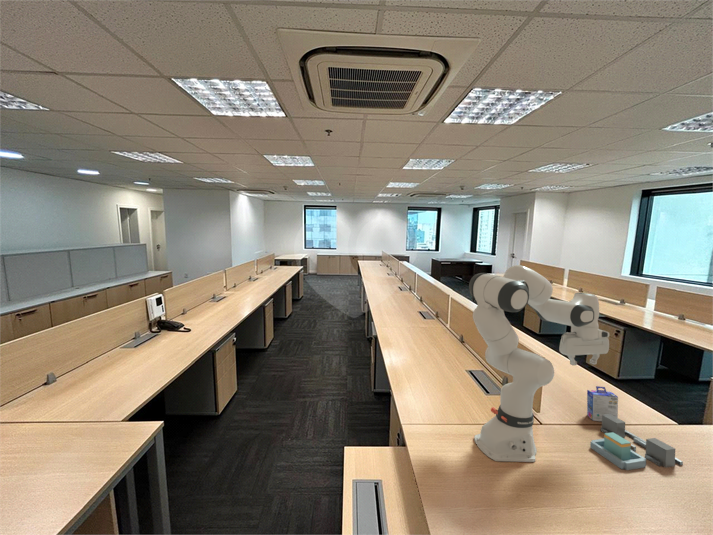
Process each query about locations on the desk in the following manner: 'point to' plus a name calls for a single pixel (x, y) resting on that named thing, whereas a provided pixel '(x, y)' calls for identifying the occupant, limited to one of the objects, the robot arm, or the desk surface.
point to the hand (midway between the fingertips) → (583, 364)
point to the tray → (633, 463)
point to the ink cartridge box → (601, 404)
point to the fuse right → (661, 452)
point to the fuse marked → (617, 446)
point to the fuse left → (613, 424)
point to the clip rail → (643, 444)
